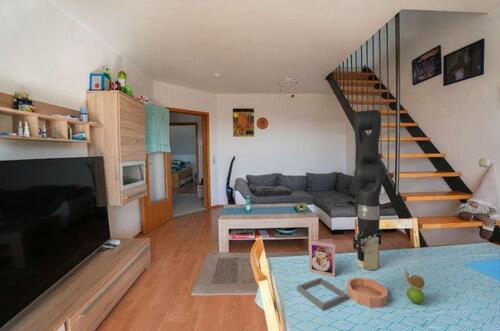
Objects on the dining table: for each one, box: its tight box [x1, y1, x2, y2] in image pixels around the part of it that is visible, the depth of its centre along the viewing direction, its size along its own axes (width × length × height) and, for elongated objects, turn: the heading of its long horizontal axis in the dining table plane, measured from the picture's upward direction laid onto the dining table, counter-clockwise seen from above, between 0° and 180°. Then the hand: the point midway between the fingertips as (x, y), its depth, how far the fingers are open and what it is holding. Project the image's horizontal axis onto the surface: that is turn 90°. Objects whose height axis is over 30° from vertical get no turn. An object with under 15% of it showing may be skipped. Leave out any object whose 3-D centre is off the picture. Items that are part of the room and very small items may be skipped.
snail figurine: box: [404, 267, 425, 305], centre depth 89 cm, size 5×6×12 cm
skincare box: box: [356, 237, 379, 270], centre depth 92 cm, size 6×4×12 cm
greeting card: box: [308, 238, 336, 278], centre depth 111 cm, size 11×7×15 cm, turn 64°
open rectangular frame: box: [296, 277, 349, 312], centre depth 94 cm, size 13×14×2 cm
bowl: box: [346, 276, 388, 308], centre depth 93 cm, size 14×14×4 cm
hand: (367, 258), depth 92 cm, fingers closed on skincare box, 7 cm apart
